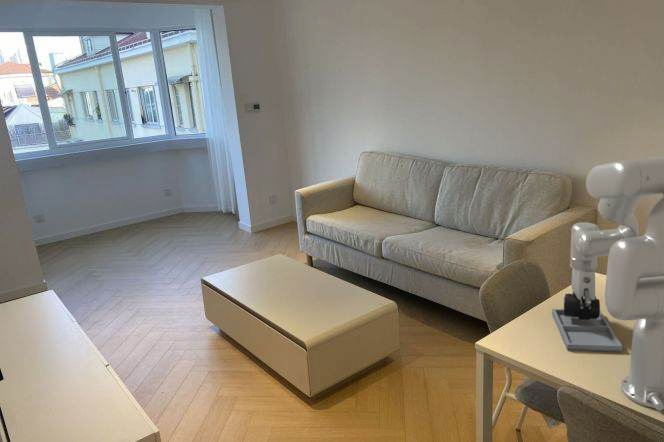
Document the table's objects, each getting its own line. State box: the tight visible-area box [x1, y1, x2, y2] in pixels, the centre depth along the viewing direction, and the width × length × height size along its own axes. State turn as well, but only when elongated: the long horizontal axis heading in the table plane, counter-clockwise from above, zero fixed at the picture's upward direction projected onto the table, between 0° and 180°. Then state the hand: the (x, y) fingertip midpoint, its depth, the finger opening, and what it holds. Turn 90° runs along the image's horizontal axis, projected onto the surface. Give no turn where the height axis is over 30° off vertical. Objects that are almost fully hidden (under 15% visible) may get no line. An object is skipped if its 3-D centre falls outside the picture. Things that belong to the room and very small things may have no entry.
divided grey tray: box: [551, 308, 623, 353], centre depth 155 cm, size 22×15×2 cm, turn 167°
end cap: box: [563, 293, 601, 319], centre depth 158 cm, size 10×7×7 cm
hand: (580, 312), depth 159 cm, fingers closed on end cap, 7 cm apart
